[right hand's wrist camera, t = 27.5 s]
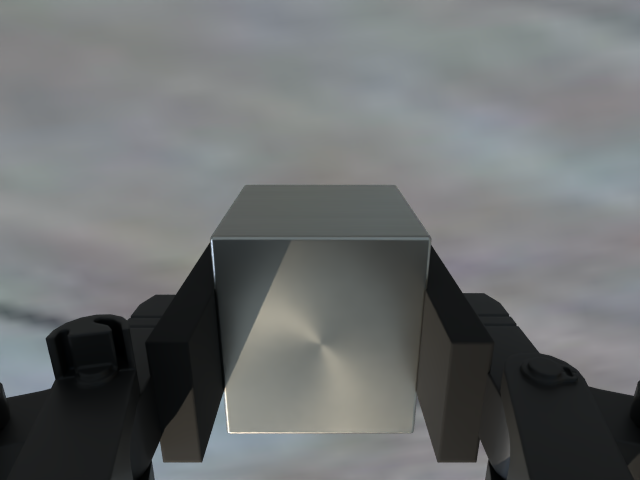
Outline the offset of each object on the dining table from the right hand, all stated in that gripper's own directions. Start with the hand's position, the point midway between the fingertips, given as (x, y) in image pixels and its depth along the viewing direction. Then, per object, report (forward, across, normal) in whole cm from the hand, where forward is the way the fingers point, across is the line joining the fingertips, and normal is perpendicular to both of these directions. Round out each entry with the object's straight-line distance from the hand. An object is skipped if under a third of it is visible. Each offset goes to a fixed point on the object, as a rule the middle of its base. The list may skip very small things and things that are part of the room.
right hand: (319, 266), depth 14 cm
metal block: (0, 0, 0) cm, 0 cm away
